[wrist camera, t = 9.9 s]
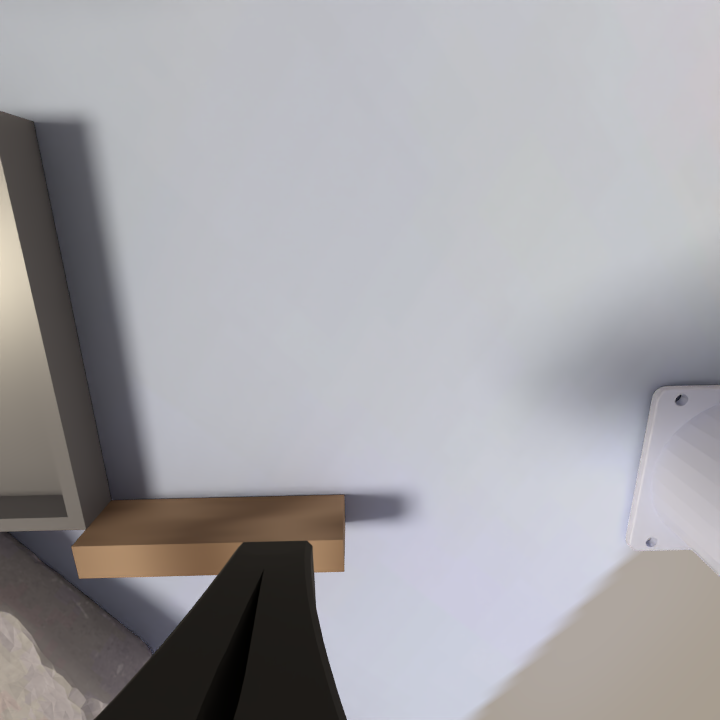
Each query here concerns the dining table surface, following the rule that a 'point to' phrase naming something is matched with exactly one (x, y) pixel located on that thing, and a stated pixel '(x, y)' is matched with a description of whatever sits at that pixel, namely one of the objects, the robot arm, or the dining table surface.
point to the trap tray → (40, 360)
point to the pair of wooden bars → (205, 534)
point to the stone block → (57, 644)
